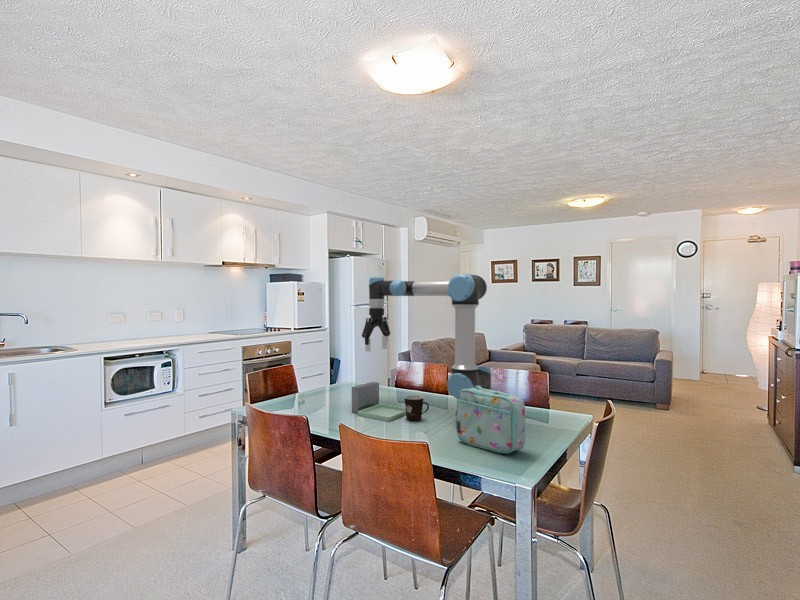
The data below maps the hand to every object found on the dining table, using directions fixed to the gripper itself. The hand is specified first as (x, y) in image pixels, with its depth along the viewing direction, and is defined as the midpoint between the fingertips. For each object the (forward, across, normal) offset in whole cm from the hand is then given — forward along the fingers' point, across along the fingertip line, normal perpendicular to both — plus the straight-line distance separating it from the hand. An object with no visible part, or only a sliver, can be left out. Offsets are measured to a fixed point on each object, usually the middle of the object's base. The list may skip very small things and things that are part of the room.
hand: (376, 350), depth 222 cm
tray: (+28, +11, +13) cm, 33 cm away
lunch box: (+28, +24, +70) cm, 79 cm away
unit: (+28, +9, 0) cm, 29 cm away
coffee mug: (+28, +11, +30) cm, 43 cm away
